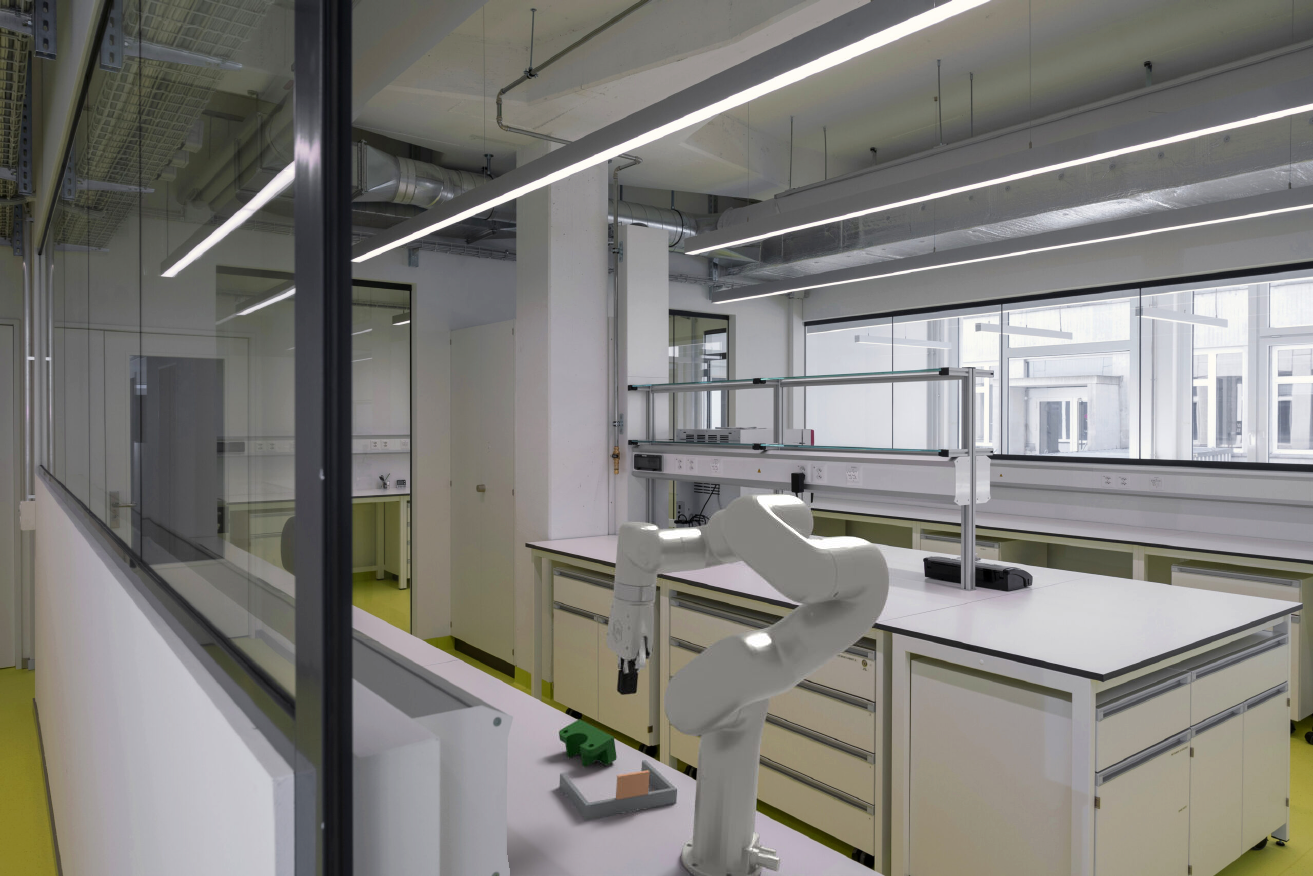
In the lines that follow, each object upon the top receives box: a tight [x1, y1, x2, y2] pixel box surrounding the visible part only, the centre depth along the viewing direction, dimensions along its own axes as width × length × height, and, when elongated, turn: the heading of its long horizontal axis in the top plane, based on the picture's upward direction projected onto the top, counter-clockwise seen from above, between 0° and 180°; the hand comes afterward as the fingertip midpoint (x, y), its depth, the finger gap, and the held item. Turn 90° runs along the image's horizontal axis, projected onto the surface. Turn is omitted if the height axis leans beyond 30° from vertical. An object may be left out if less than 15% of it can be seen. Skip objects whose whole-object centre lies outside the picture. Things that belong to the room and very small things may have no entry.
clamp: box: [558, 718, 617, 768], centre depth 156 cm, size 12×6×9 cm, turn 38°
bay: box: [558, 759, 678, 821], centre depth 142 cm, size 13×18×6 cm
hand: (626, 692), depth 140 cm, fingers closed
